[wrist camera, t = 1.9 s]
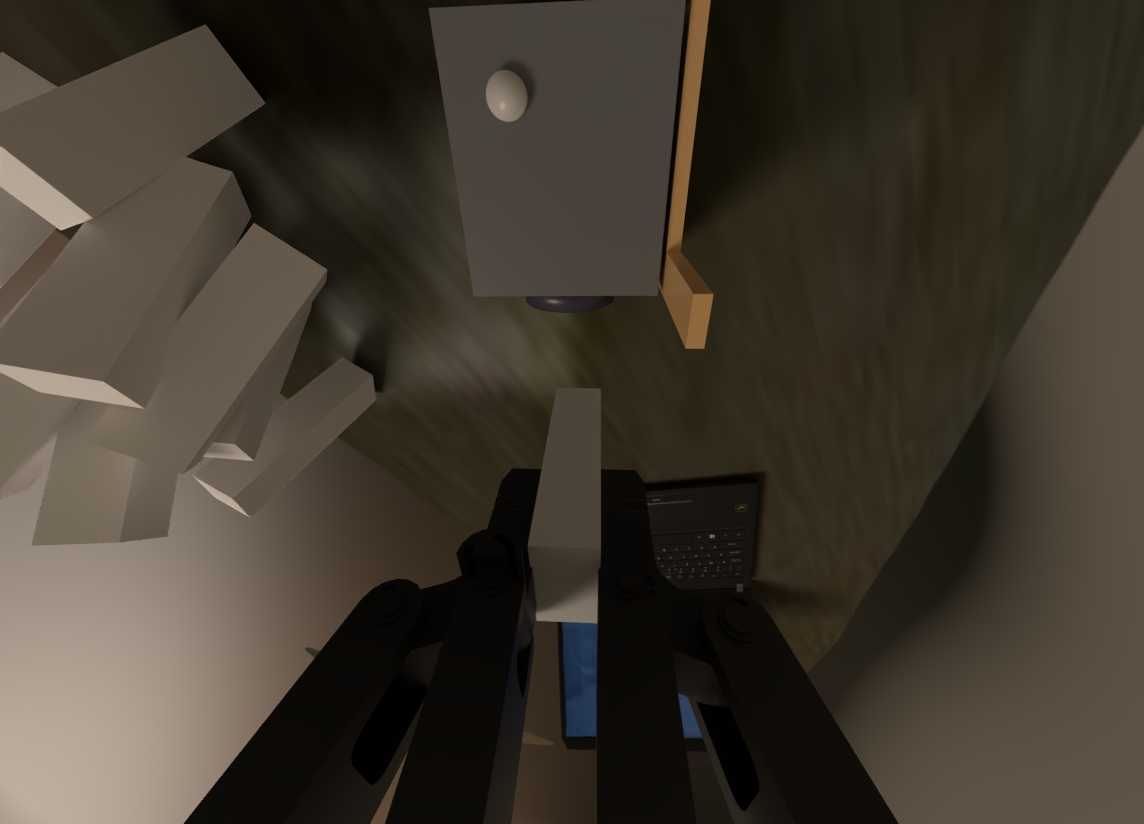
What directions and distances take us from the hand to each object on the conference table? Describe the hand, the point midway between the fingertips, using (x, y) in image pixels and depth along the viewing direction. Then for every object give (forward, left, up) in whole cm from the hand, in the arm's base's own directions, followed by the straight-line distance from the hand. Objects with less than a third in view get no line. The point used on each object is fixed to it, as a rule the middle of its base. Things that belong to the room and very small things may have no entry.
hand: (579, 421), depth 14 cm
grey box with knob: (-7, -2, -31) cm, 31 cm away
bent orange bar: (-7, +6, -30) cm, 31 cm away
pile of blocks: (+3, -35, -31) cm, 47 cm away
